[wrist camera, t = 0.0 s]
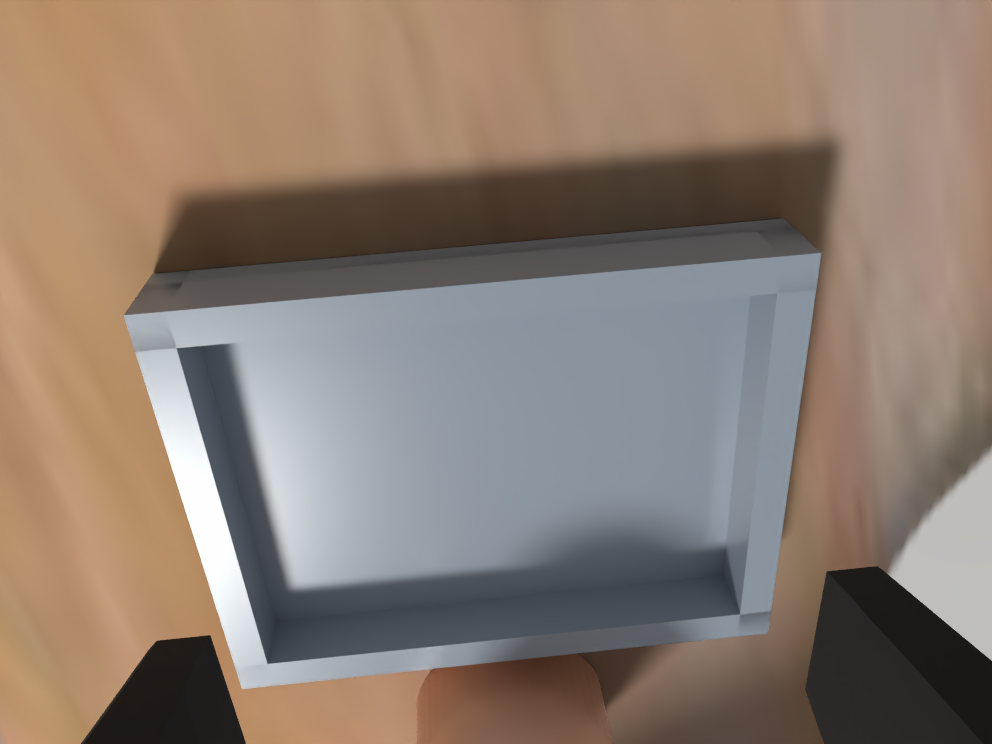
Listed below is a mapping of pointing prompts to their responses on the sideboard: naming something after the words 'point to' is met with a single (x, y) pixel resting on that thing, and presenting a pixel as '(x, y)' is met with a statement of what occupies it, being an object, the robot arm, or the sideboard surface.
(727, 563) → the tray
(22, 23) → the sideboard surface
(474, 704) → the cup
